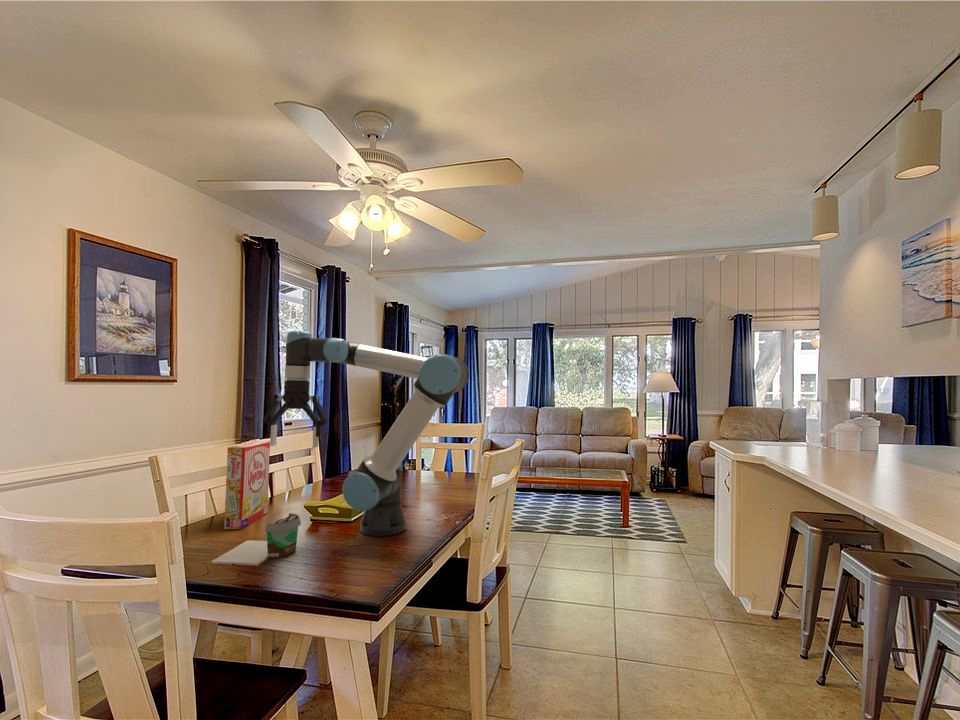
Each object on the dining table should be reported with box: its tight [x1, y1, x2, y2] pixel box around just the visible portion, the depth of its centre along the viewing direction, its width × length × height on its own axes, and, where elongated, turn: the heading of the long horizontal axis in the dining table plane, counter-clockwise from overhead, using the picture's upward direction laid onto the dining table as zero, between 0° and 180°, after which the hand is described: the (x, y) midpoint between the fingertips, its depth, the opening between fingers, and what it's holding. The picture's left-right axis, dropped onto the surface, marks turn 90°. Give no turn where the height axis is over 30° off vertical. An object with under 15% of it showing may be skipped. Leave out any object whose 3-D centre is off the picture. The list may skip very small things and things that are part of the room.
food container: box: [265, 513, 302, 560], centre depth 142 cm, size 12×6×10 cm, turn 171°
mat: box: [210, 540, 269, 566], centre depth 142 cm, size 13×18×1 cm
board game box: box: [223, 440, 271, 530], centre depth 175 cm, size 20×6×27 cm, turn 0°
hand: (294, 446), depth 159 cm, fingers open, 13 cm apart
